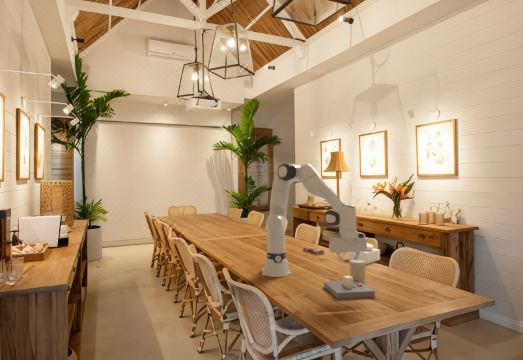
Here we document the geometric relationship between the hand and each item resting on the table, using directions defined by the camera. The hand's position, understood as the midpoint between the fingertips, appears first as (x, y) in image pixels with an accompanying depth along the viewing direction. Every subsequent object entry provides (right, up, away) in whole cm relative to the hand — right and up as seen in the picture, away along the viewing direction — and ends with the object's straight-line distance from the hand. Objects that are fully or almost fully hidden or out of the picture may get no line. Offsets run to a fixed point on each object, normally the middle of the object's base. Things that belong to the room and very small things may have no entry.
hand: (347, 260), depth 185 cm
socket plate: (0, -17, 0) cm, 17 cm away
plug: (0, -17, +1) cm, 17 cm away
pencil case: (-4, -18, +95) cm, 97 cm away
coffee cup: (+10, -17, +19) cm, 27 cm away
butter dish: (+28, -17, +71) cm, 78 cm away
